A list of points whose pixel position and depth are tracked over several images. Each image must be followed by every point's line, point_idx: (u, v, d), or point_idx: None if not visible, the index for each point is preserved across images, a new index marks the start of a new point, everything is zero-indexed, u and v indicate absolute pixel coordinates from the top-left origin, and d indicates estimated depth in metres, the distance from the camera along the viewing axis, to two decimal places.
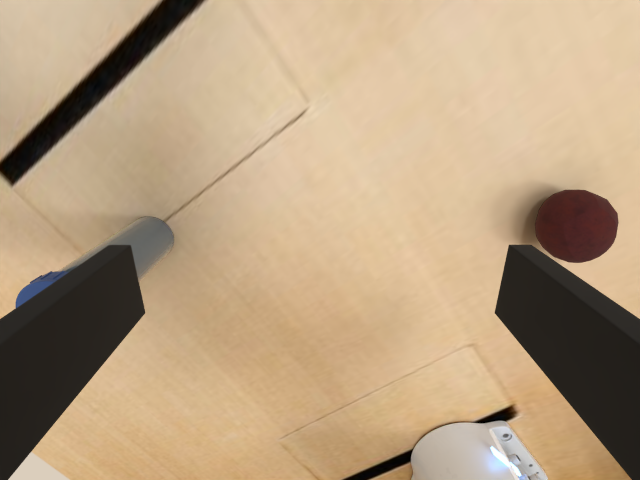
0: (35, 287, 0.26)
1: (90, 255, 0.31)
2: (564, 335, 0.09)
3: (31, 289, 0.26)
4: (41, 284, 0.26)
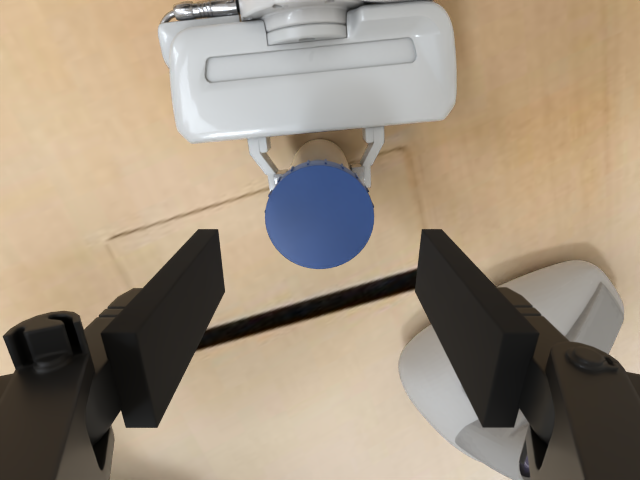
0: (320, 263, 0.20)
1: None
2: (447, 303, 0.11)
3: (326, 262, 0.20)
4: (310, 264, 0.20)
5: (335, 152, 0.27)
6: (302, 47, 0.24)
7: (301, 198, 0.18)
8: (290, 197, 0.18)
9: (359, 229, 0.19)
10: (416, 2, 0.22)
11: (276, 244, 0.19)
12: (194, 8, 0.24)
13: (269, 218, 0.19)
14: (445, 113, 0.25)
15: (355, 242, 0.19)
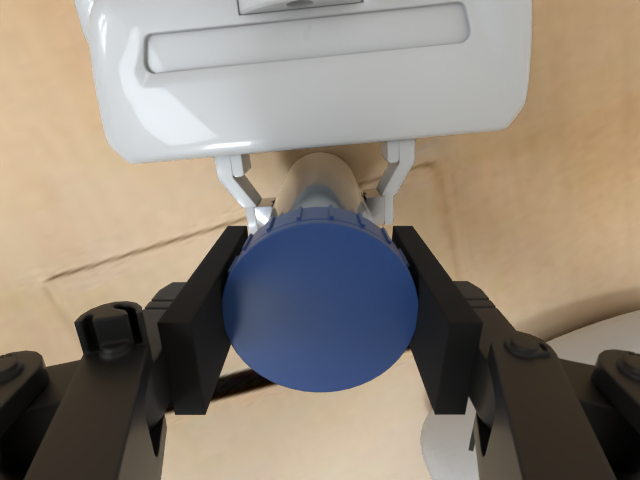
0: (321, 383, 0.11)
1: None
2: None
3: (332, 382, 0.11)
4: (303, 385, 0.11)
5: (343, 176, 0.18)
6: (294, 18, 0.15)
7: (286, 280, 0.10)
8: (266, 279, 0.10)
9: (392, 331, 0.11)
10: None
11: (243, 355, 0.11)
12: None
13: (229, 313, 0.10)
14: (509, 120, 0.17)
15: (383, 352, 0.11)
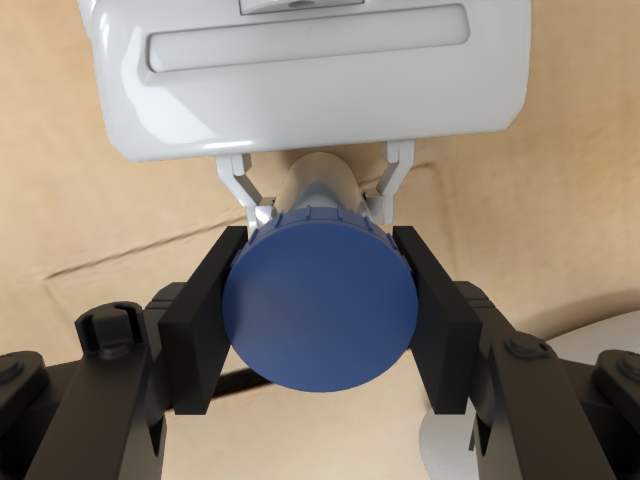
0: (405, 298, 0.10)
1: None
2: None
3: (401, 288, 0.10)
4: (410, 314, 0.10)
5: (343, 176, 0.18)
6: (295, 18, 0.15)
7: (289, 349, 0.11)
8: (292, 364, 0.11)
9: (321, 247, 0.10)
10: None
11: (380, 370, 0.11)
12: None
13: (335, 386, 0.11)
14: (508, 121, 0.17)
15: (349, 248, 0.10)
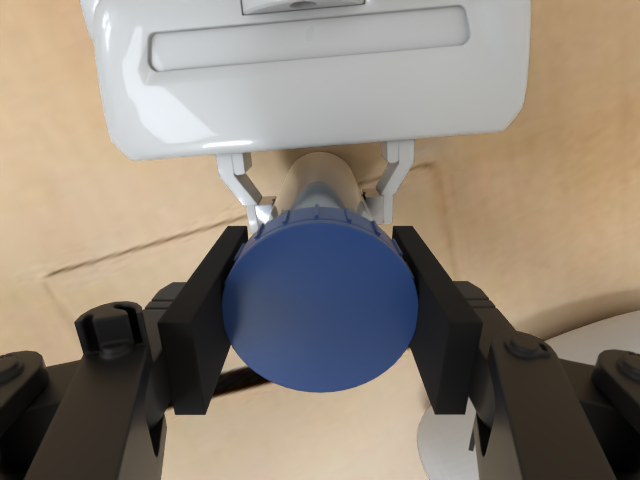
0: (277, 245, 0.10)
1: None
2: None
3: (267, 252, 0.10)
4: (295, 234, 0.10)
5: (343, 176, 0.18)
6: (296, 18, 0.15)
7: (365, 335, 0.11)
8: (383, 329, 0.11)
9: (247, 330, 0.11)
10: None
11: (375, 245, 0.10)
12: None
13: (406, 284, 0.10)
14: (507, 121, 0.17)
15: (240, 308, 0.10)
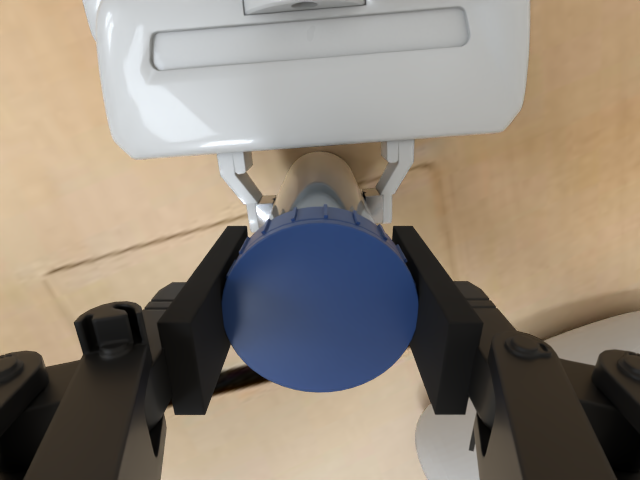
0: (257, 360, 0.11)
1: None
2: None
3: (266, 367, 0.11)
4: (243, 350, 0.11)
5: (343, 175, 0.19)
6: (298, 19, 0.16)
7: (331, 271, 0.10)
8: (320, 255, 0.10)
9: (350, 371, 0.11)
10: None
11: (229, 288, 0.10)
12: None
13: (261, 250, 0.10)
14: (506, 122, 0.17)
15: (327, 379, 0.11)
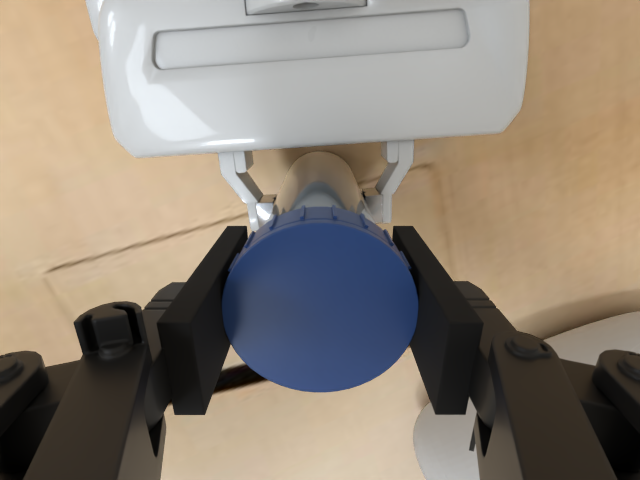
0: (385, 357, 0.11)
1: None
2: None
3: (391, 350, 0.11)
4: (374, 371, 0.11)
5: (343, 175, 0.19)
6: (299, 19, 0.16)
7: (268, 316, 0.10)
8: (256, 328, 0.11)
9: (382, 274, 0.10)
10: None
11: (309, 388, 0.11)
12: None
13: (265, 371, 0.11)
14: (505, 123, 0.17)
15: (397, 294, 0.10)
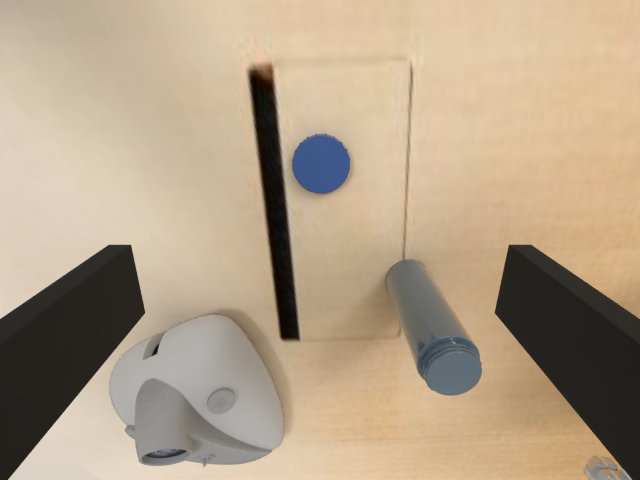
0: (340, 180, 0.37)
1: (413, 323, 0.32)
2: (564, 335, 0.09)
3: (342, 177, 0.37)
4: (337, 184, 0.37)
5: None
6: None
7: (306, 165, 0.36)
8: (302, 169, 0.36)
9: (338, 151, 0.36)
10: None
11: (317, 191, 0.37)
12: None
13: (304, 185, 0.37)
14: None
15: (343, 157, 0.36)
